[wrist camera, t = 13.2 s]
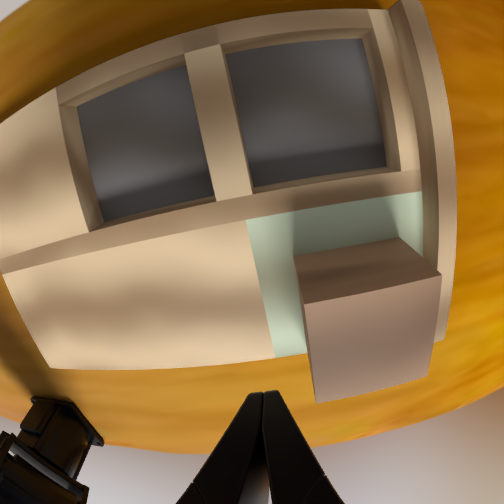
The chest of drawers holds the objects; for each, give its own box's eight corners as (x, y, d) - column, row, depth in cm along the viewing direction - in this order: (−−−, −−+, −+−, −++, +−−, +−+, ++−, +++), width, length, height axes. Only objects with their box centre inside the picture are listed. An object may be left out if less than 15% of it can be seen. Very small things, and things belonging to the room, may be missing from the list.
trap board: (419, 305, 16) (444, 339, 13) (62, 351, 19) (40, 381, 16) (390, 23, 11) (420, 1, 7) (-12, 145, 13) (-49, 153, 10)
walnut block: (397, 326, 14) (426, 376, 11) (306, 345, 15) (316, 403, 11) (399, 237, 13) (442, 274, 9) (292, 256, 13) (304, 304, 9)
